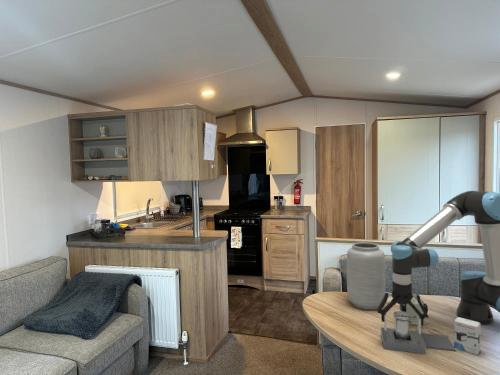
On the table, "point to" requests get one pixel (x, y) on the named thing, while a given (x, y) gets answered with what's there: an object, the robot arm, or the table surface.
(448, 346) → the mat
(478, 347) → the ink box
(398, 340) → the frame
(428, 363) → the table surface
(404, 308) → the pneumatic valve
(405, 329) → the grey bottle
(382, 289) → the vase
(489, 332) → the table surface
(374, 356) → the table surface
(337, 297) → the table surface
